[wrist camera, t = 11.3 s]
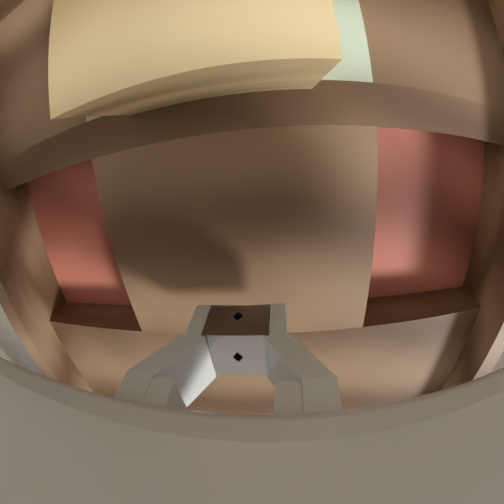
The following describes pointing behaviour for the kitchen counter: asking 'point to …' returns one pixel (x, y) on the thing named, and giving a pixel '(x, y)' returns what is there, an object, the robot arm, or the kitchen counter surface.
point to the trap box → (269, 210)
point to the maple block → (183, 51)
